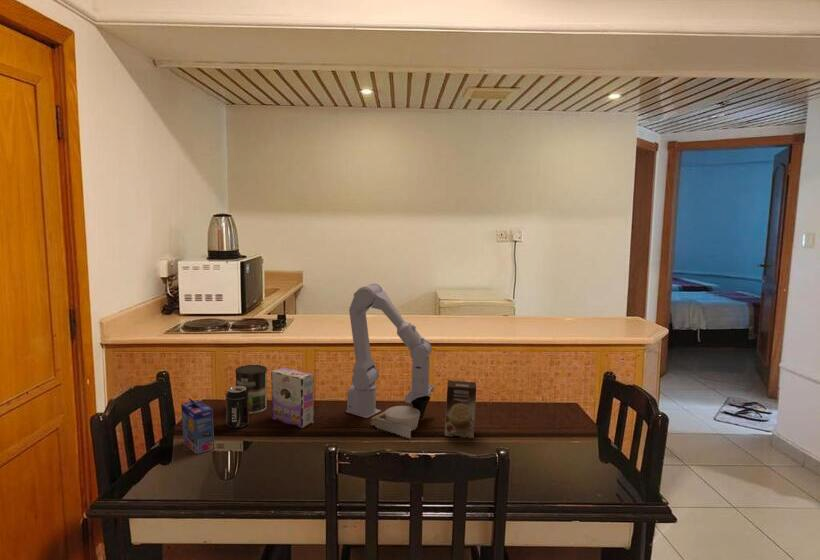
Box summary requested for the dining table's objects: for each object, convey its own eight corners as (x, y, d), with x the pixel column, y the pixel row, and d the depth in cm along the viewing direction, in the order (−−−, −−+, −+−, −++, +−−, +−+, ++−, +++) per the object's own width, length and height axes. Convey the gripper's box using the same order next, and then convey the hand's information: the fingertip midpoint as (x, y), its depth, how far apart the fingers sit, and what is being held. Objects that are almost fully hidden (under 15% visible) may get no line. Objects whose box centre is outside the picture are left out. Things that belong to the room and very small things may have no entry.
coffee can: (259, 415, 176) (258, 374, 174) (230, 412, 178) (229, 372, 176) (272, 404, 186) (271, 365, 184) (244, 402, 188) (244, 363, 186)
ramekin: (379, 423, 172) (379, 407, 172) (410, 418, 177) (411, 403, 176) (392, 437, 162) (392, 420, 161) (425, 431, 167) (425, 415, 166)
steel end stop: (375, 428, 168) (375, 417, 167) (376, 427, 168) (377, 417, 168) (409, 439, 161) (409, 428, 160) (410, 438, 161) (410, 427, 161)
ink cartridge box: (181, 443, 154) (180, 395, 152) (200, 438, 158) (199, 391, 156) (195, 455, 147) (194, 405, 145) (214, 449, 151) (213, 400, 149)
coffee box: (444, 436, 163) (446, 386, 161) (445, 428, 170) (446, 379, 167) (474, 438, 162) (476, 388, 160) (473, 430, 169) (475, 381, 167)
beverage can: (240, 431, 163) (239, 393, 162) (221, 427, 165) (220, 390, 164) (253, 422, 170) (252, 386, 168) (235, 419, 172) (234, 384, 170)
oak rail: (370, 425, 170) (370, 418, 170) (395, 413, 181) (395, 406, 181) (374, 426, 169) (374, 419, 169) (398, 414, 180) (399, 407, 180)
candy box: (314, 423, 171) (314, 373, 169) (301, 429, 166) (301, 378, 164) (284, 413, 178) (283, 366, 176) (270, 419, 173) (270, 370, 171)
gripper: (418, 386, 165) (417, 427, 167) (442, 375, 177) (441, 414, 179) (399, 381, 169) (398, 422, 171) (424, 371, 181) (423, 409, 183)
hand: (419, 417), depth 175 cm, fingers closed
